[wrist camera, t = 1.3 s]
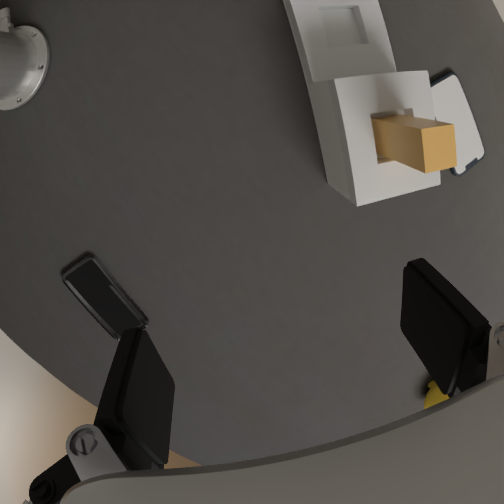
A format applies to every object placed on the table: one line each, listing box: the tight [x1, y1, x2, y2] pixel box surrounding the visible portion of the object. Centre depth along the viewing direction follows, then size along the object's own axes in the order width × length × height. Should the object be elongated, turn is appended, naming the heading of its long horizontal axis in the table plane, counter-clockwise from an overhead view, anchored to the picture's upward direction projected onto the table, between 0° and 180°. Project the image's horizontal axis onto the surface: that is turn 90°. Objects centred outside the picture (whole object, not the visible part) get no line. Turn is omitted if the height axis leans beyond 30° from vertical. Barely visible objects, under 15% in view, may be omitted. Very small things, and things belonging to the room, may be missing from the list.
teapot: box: [424, 380, 449, 409], centre depth 64 cm, size 20×16×14 cm
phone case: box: [430, 72, 485, 176], centre depth 40 cm, size 9×2×16 cm
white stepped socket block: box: [283, 0, 440, 206], centre depth 32 cm, size 28×12×10 cm, turn 15°
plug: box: [371, 114, 457, 174], centre depth 28 cm, size 4×4×10 cm
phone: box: [62, 255, 149, 340], centre depth 46 cm, size 8×1×15 cm
